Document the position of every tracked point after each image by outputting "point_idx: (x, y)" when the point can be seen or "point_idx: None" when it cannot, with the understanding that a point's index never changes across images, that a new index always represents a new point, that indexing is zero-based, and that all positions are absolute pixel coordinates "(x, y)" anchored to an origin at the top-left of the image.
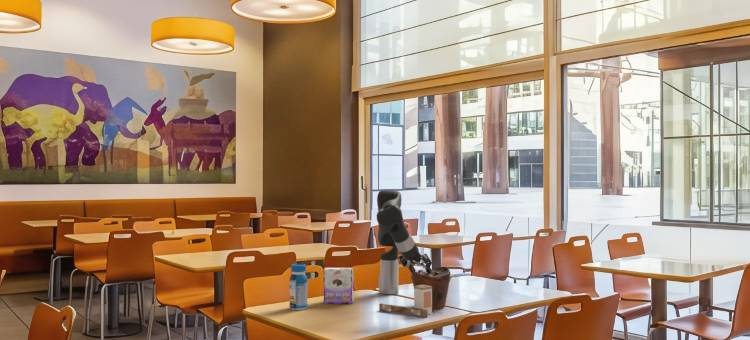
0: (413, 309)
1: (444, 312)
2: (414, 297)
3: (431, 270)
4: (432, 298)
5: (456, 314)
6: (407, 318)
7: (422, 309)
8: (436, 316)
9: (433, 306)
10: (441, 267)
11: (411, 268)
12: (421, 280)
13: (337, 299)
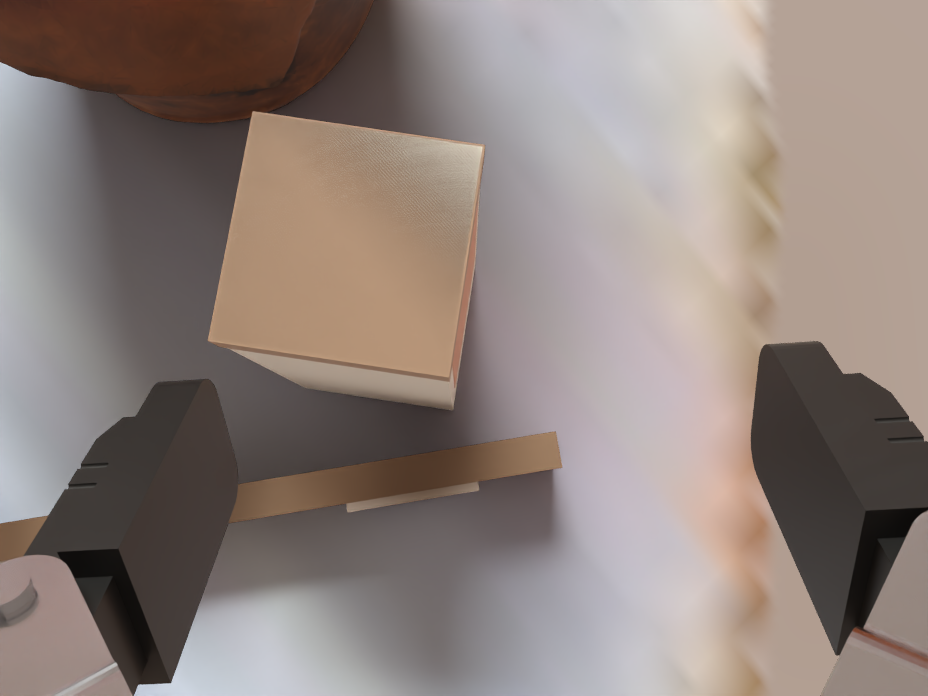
0: (379, 506)
1: (541, 119)
2: (267, 366)
3: (888, 410)
4: (325, 29)
5: (703, 110)
6: (427, 669)
7: (496, 462)
8: (607, 345)
9: (337, 56)
10: None
11: (180, 600)
12: (133, 20)
13: None
